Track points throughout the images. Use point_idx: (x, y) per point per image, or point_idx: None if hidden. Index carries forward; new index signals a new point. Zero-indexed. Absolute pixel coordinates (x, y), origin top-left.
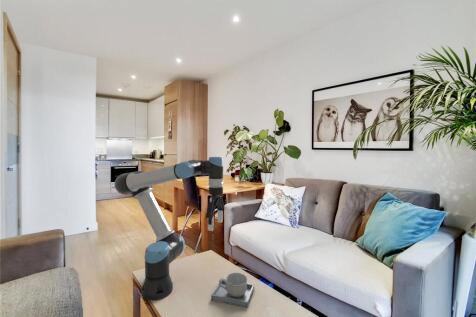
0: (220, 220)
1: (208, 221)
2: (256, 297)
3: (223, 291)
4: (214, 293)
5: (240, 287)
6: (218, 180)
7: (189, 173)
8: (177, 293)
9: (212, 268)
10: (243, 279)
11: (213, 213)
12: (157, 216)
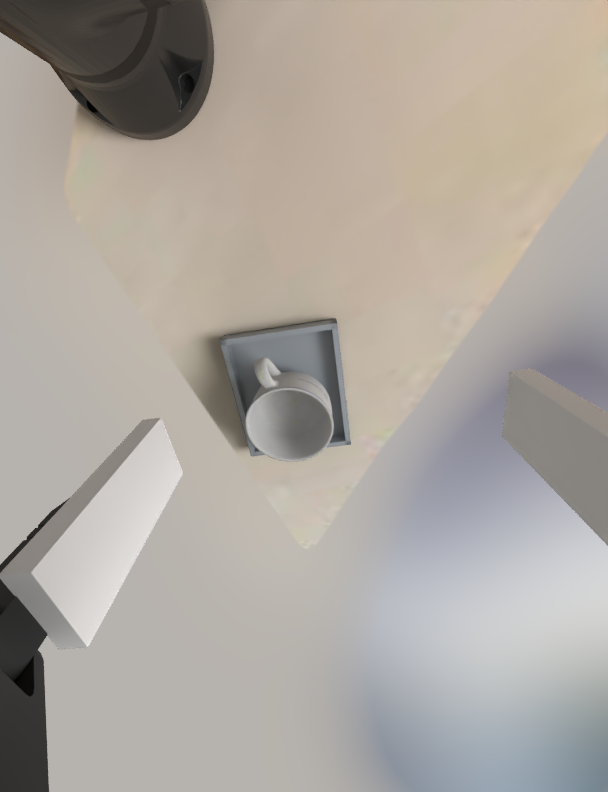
0: (520, 429)
1: (24, 545)
2: None
3: (282, 354)
4: (240, 342)
5: (263, 446)
6: None
7: None
8: (181, 174)
9: (440, 205)
10: (326, 430)
11: (33, 765)
12: None
